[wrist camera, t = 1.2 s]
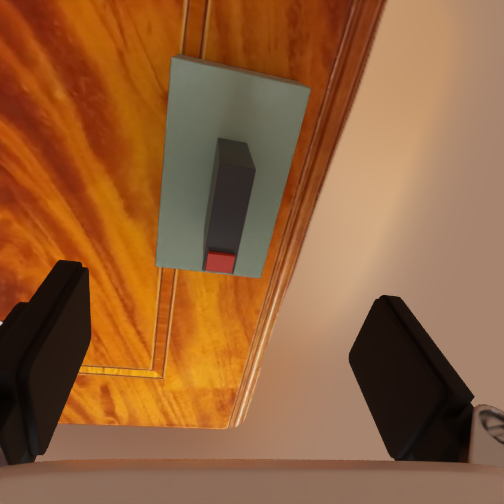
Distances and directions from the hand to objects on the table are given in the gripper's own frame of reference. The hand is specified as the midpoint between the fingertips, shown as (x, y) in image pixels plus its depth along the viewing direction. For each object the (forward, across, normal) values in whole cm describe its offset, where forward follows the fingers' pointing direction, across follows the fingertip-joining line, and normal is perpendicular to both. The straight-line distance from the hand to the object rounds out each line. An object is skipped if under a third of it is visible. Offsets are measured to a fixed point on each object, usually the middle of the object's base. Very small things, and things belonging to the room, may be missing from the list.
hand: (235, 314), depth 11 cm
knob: (+10, 0, 0) cm, 10 cm away
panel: (+14, 0, 0) cm, 14 cm away
